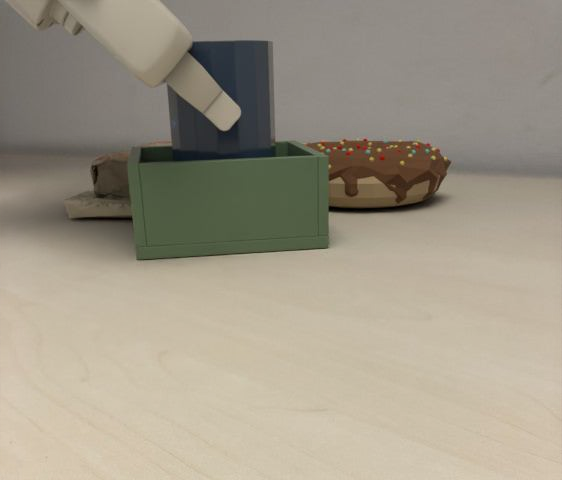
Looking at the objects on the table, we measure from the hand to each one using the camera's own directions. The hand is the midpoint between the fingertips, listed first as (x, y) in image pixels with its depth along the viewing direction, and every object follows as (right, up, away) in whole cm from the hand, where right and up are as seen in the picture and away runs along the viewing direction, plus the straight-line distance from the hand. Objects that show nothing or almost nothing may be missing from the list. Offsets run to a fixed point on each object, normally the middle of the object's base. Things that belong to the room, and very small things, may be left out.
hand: (230, 118), depth 47 cm
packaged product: (-8, -2, +17) cm, 19 cm away
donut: (+11, -2, +15) cm, 19 cm away
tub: (-1, -7, +3) cm, 8 cm away
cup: (0, -5, +2) cm, 5 cm away
